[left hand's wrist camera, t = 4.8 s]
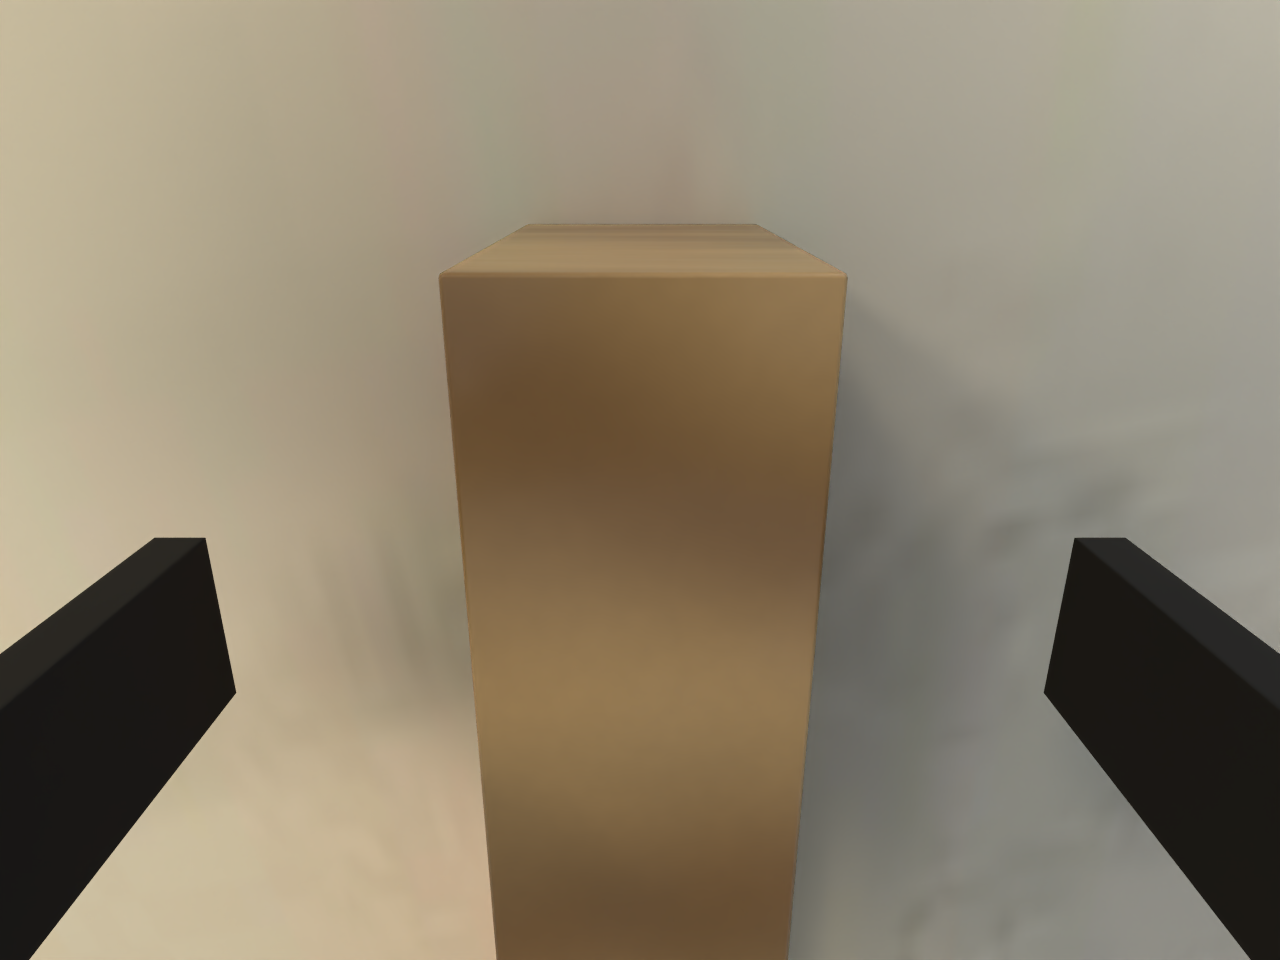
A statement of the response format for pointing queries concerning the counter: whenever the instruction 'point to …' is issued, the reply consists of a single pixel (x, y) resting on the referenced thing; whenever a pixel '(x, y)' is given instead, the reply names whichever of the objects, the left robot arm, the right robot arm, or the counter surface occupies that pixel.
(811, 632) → the post
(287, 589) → the counter surface
